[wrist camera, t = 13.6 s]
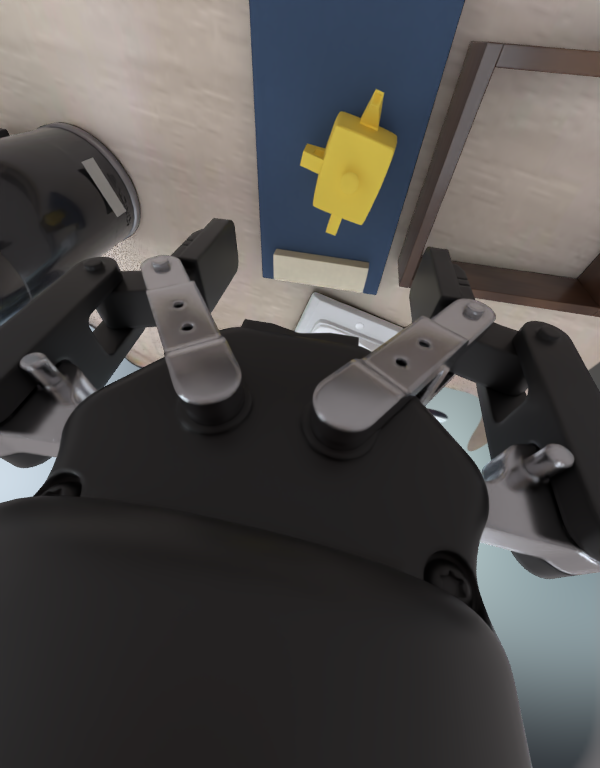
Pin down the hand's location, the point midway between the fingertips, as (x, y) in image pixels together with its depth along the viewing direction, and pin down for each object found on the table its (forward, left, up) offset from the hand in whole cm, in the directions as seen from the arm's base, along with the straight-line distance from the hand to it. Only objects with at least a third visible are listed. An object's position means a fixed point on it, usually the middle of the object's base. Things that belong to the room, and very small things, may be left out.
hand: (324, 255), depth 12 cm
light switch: (+3, -19, -16) cm, 25 cm away
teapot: (0, 0, -15) cm, 15 cm away
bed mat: (-1, -1, -16) cm, 16 cm away
